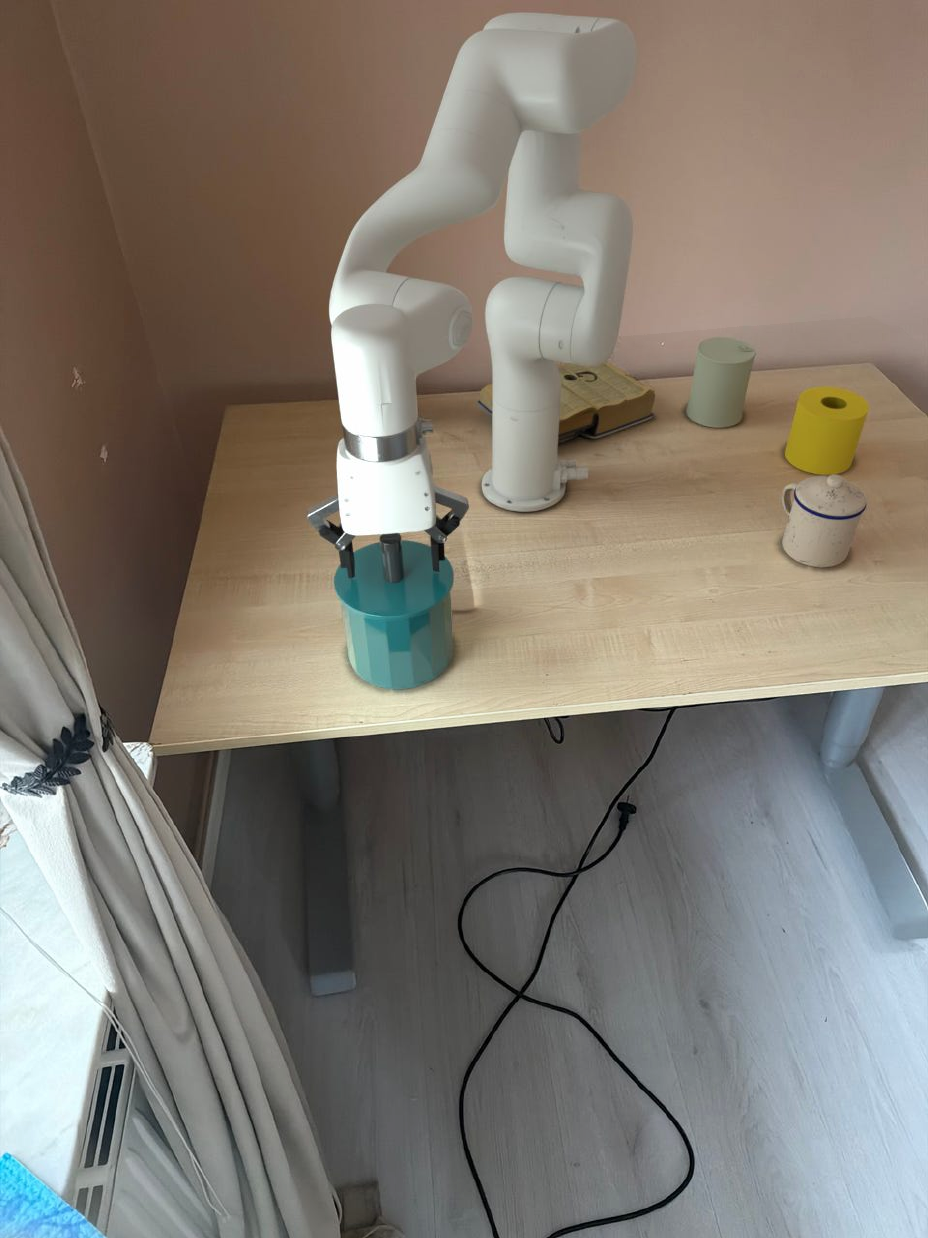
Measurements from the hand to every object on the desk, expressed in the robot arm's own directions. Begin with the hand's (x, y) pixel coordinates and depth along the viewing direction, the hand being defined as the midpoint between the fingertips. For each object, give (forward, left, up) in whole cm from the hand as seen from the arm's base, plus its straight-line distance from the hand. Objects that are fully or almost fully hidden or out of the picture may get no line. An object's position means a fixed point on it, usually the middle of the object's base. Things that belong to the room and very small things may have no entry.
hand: (393, 567), depth 101 cm
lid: (0, 0, -2) cm, 2 cm away
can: (-55, -51, -14) cm, 76 cm away
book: (-30, -53, -14) cm, 62 cm away
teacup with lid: (-57, -15, -14) cm, 60 cm away
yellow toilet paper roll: (-67, -36, -14) cm, 77 cm away
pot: (0, 0, -13) cm, 13 cm away
